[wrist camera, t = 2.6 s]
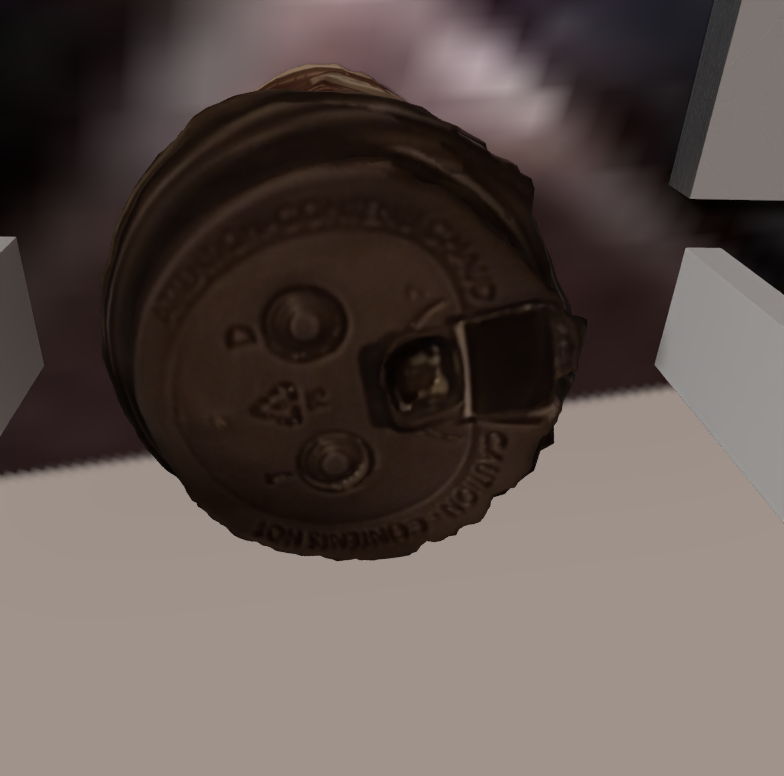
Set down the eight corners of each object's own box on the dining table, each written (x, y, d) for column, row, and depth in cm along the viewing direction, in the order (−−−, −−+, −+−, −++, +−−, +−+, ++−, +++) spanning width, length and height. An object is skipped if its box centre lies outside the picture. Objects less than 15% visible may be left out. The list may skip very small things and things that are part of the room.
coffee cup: (519, 127, 22) (736, 311, 11) (381, 342, 26) (447, 646, 15) (256, -42, 19) (207, -16, 8) (138, 226, 23) (-9, 499, 12)
